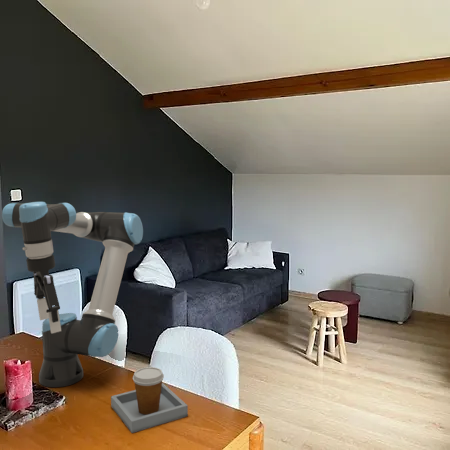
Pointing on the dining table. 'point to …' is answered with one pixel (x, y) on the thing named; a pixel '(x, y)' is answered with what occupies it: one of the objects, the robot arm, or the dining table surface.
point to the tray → (135, 421)
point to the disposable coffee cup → (148, 389)
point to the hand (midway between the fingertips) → (50, 325)
